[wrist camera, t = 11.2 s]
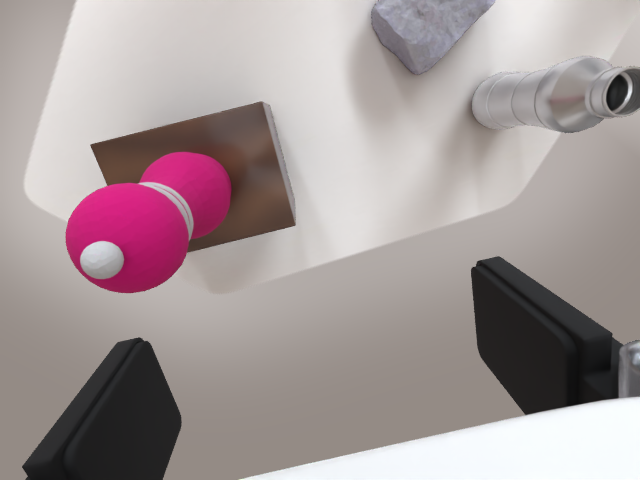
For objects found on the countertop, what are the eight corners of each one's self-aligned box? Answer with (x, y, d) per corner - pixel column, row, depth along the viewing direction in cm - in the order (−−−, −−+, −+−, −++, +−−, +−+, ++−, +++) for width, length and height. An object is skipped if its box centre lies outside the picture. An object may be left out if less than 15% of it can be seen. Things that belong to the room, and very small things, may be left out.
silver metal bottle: (461, 82, 46) (581, 59, 27) (515, 67, 46) (673, 32, 27) (469, 135, 48) (585, 147, 29) (520, 120, 48) (670, 123, 29)
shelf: (141, 137, 45) (89, 144, 34) (269, 104, 45) (262, 101, 34) (176, 229, 49) (140, 264, 38) (294, 199, 49) (295, 225, 38)
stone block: (359, 25, 45) (418, 84, 45) (361, 6, 40) (427, 73, 41) (431, -58, 43) (492, 5, 44) (443, -88, 38) (511, -16, 39)
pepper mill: (186, 235, 37) (77, 361, 18) (143, 169, 35) (-34, 234, 16) (250, 202, 36) (207, 296, 18) (211, 133, 34) (112, 156, 15)
